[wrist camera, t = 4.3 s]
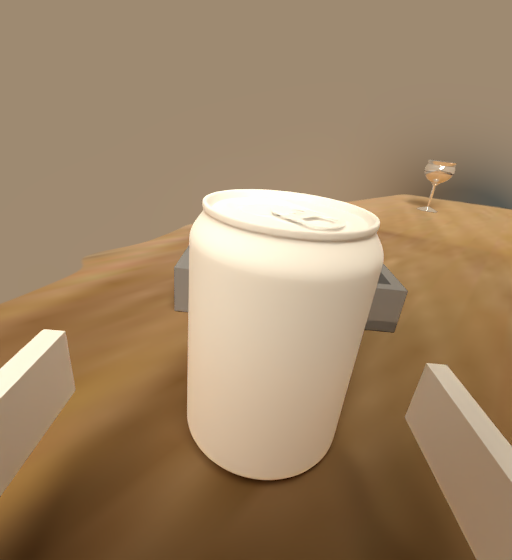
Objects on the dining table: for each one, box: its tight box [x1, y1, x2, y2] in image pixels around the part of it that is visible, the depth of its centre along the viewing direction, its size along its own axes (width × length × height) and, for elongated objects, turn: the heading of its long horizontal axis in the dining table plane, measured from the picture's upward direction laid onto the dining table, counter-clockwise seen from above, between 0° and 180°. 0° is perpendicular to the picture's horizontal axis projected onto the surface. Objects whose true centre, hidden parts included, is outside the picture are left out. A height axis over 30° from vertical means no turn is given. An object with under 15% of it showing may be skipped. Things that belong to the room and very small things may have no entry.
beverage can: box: [187, 189, 384, 480], centre depth 16 cm, size 8×8×12 cm
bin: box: [174, 246, 408, 332], centre depth 36 cm, size 19×19×4 cm
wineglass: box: [417, 160, 457, 212], centre depth 83 cm, size 7×7×12 cm
